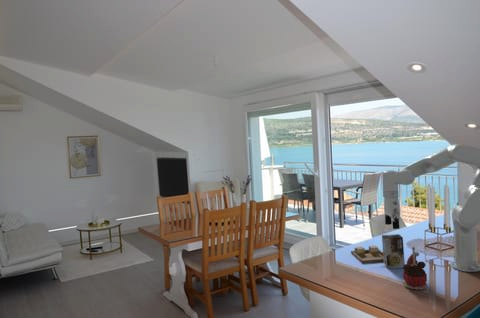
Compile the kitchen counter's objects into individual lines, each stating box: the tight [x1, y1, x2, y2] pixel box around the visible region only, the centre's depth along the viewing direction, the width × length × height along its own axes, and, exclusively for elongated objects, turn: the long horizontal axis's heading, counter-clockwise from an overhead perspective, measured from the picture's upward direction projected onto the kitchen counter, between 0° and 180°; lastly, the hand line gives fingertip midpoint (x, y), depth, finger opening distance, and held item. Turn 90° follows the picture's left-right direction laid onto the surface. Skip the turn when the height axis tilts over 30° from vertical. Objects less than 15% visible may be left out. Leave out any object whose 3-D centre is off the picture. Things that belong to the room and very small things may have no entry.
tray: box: [350, 248, 384, 264], centre depth 204 cm, size 18×16×2 cm
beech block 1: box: [354, 245, 366, 256], centre depth 210 cm, size 4×4×4 cm
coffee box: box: [381, 233, 406, 270], centre depth 190 cm, size 9×6×16 cm
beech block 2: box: [368, 245, 379, 255], centre depth 210 cm, size 4×4×4 cm
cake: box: [402, 246, 428, 290], centre depth 164 cm, size 11×9×18 cm
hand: (392, 226), depth 191 cm, fingers open, 9 cm apart
